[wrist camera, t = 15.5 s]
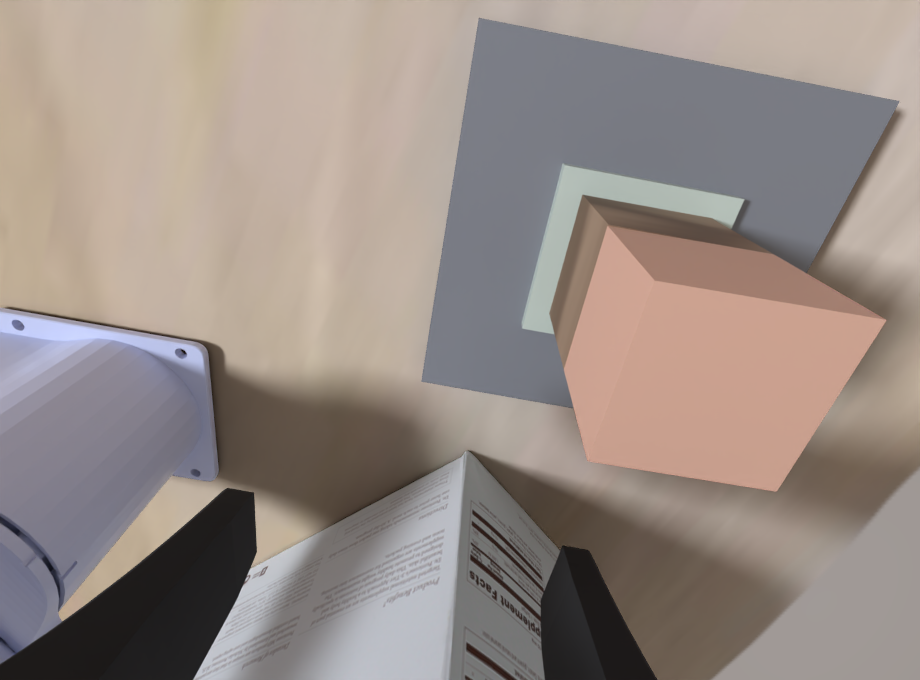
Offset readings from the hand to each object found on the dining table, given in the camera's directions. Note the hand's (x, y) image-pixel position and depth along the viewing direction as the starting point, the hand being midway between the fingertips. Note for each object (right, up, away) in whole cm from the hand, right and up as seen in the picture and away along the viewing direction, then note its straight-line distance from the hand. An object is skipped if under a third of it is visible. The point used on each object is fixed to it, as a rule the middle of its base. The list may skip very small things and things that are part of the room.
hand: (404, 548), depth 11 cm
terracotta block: (+7, +6, +2) cm, 9 cm away
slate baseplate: (+7, +8, +7) cm, 13 cm away
